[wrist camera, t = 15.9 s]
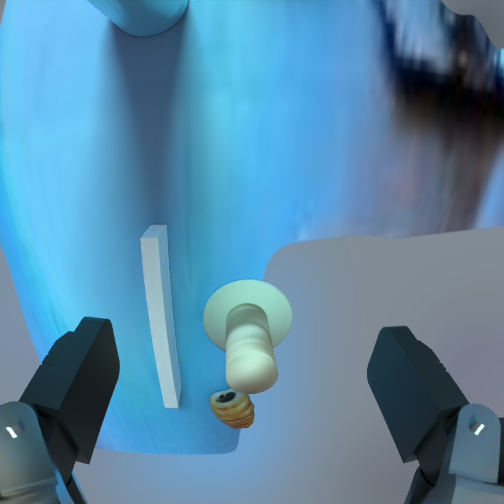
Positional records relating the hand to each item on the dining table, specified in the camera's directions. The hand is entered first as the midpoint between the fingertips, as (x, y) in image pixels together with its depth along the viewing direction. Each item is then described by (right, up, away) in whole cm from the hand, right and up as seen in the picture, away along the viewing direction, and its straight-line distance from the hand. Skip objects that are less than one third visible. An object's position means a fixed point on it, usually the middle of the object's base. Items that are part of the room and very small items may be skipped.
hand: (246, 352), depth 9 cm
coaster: (0, -6, +34) cm, 34 cm away
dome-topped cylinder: (-1, -6, +34) cm, 34 cm away
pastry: (-3, -22, +40) cm, 46 cm away
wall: (-11, -6, +33) cm, 36 cm away
